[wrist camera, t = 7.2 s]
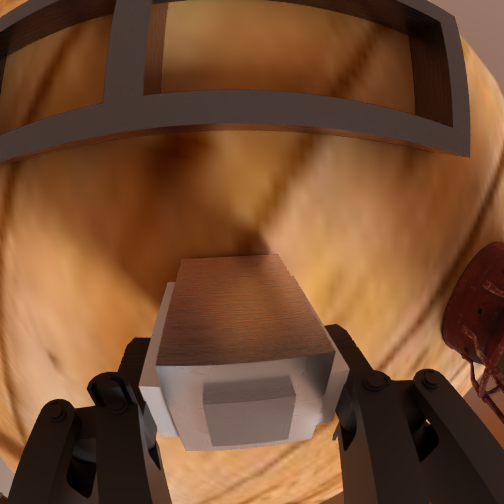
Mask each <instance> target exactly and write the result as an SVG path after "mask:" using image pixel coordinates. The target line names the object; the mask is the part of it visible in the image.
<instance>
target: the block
mask: <svg viewBox="0 0 504 504" xmlns="http://www.w3.org/2000/svg"><path fill="white" fill-rule="evenodd" d="M335 353H336V351H335V349H334V348H333V346H332V344H331V342H330V341H329V339H328V337H327V335H326V334H325V332H324V330H323V329H322V327H321V325H320V323H319V322H318V320H317V318H316V317H315V315H314V313H313V312H312V310H311V308H310V306H309V305H308V303H307V301H306V300H305V298H304V296H303V295H302V293H301V291H300V290H299V288H298V286H297V285H296V283H295V281H294V280H293V278H292V276H291V275H290V273H289V271H288V270H287V268H286V266H285V265H284V263H283V261H282V260H281V258H280V256H279V255H278V254H274V255H254V256H234V257H213V258H191V259H182V260H181V263H180V267H179V270H178V274H177V278H176V281H175V285H174V289H173V292H172V296H171V300H170V304H169V308H168V312H167V316H166V320H165V324H164V328H163V333H162V337H161V341H160V346H159V350H158V355H157V359H156V364H155V367H156V371H157V374H158V377H159V380H160V383H161V387H162V390H163V393H164V395H165V398H166V401H167V404H168V407H169V410H170V412H171V415H172V418H173V420H174V423H175V426H176V428H177V431H178V433H179V436H180V438H181V441H182V443H183V445H184V448H185V450H186V451H209V450H232V449H245V448H255V447H264V446H272V445H279V444H285V443H291V442H297V441H302V440H307V439H311V438H312V435H313V432H314V429H315V426H316V423H317V419H318V416H319V413H320V410H321V406H322V403H323V399H324V396H325V392H326V389H327V385H328V381H329V377H330V373H331V369H332V365H333V361H334V357H335Z"/></svg>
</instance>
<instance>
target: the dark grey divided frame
mask: <svg viewBox="0 0 504 504" xmlns="http://www.w3.org/2000/svg"><path fill="white" fill-rule="evenodd" d="M174 1H184V0H29V1H27V2H25V3H23V4H22V5H20V6H18V7H17V8H15V9H13V10H12V11H10V12H9V13H7V14H6V15H4V16H2V17H1V18H0V93H1V85H2V78H3V72H4V67H5V62H6V57H7V56H8V55H10V54H12V53H13V52H15V51H17V50H19V49H21V48H23V47H25V46H27V45H29V44H31V43H33V42H35V41H37V40H39V39H41V38H43V37H45V36H48V35H50V34H52V33H55V32H57V31H60V30H62V29H65V28H67V27H70V26H73V25H75V24H78V23H81V22H84V21H87V20H90V19H93V18H96V17H100V16H103V15H107V14H111V13H114V15H113V20H112V26H111V32H110V38H109V45H108V53H107V61H106V71H105V84H104V102H103V103H101V104H96V105H92V106H87V107H83V108H79V109H75V110H72V111H68V112H64V113H61V114H58V115H54V116H51V117H48V118H45V119H42V120H39V121H36V122H33V123H30V124H28V125H25V126H22V127H20V128H17V129H14V130H12V131H10V132H7V133H5V134H2V135H0V168H1V167H4V166H7V165H10V164H13V163H16V162H19V161H23V160H26V159H30V158H33V157H37V156H40V155H44V154H48V153H52V152H56V151H60V150H64V149H69V148H74V147H78V146H83V145H88V144H94V143H99V142H105V141H111V140H117V139H124V138H131V137H139V136H148V135H157V134H168V133H180V132H196V131H224V130H259V131H287V132H303V133H316V134H326V135H336V136H344V137H352V138H360V139H367V140H373V141H379V142H385V143H391V144H396V145H401V146H406V147H411V148H416V149H420V150H425V151H429V152H433V153H441V154H449V155H456V156H462V157H468V158H470V107H469V94H468V84H467V75H466V68H465V62H464V56H463V50H462V45H461V40H460V36H459V32H458V27H457V24H456V20H455V17H454V16H453V15H451V14H449V13H448V12H446V11H445V10H443V9H441V8H440V7H438V6H436V5H434V4H433V3H431V2H429V1H427V0H270V1H280V2H288V3H295V4H302V5H308V6H313V7H318V8H323V9H328V10H332V11H336V12H341V13H344V14H348V15H352V16H355V17H359V18H362V19H366V20H369V21H372V22H375V23H378V24H381V25H384V26H386V27H389V28H392V29H394V30H397V31H399V32H402V33H404V34H407V35H408V36H409V42H410V49H411V57H412V66H413V76H414V89H415V112H416V115H412V114H409V113H405V112H402V111H398V110H394V109H390V108H386V107H382V106H377V105H373V104H368V103H363V102H358V101H353V100H347V99H341V98H335V97H329V96H321V95H314V94H305V93H295V92H283V91H267V90H201V91H185V92H173V93H163V94H161V78H162V60H163V46H164V35H165V25H166V17H167V9H168V2H174Z"/></svg>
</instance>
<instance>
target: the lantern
mask: <svg viewBox="0 0 504 504" xmlns="http://www.w3.org/2000/svg"><path fill="white" fill-rule="evenodd" d="M442 334H443V337H444V341H445V344H446V345H447V346H449V347H450V348H451V349H454V350H456V351H457V352H458V353H459V354H461V356H463V357H462V358H463V359H466V360H467V361H468V362H469V363H470V366H471V382H472V385H473V387H474V388H475V390H476V392H477V394H478V396H479V398H482V400H483V401H484V402H485V403H487V404H488V405H489V406H490V407H491V409H492V410H493V411H494V412H495V414H496V415H497V416H498V418H499V419H500V420H501V421H502V422H503V424H504V415H503V414H502V412H501V411H500V410H499V408H498V407H497V406H496V404H495V403H494V402H493V401H492V399H491V398H490V397H491V396H493V395H495V394H496V393H498V392H499V391H501V390H502V392H503V393H504V244H503V243H501V242H494V243H492V244H491V245H489V246H487V247H486V248H484V249H483V250H481V251H480V252H479V253H478V254H477V255H476V256H475V258H474V259H473V260H472V261H471V262H470V264H469V265H468V267H467V268H466V270H465V271H464V273H463V274H462V276H461V278H460V280H459V282H458V284H457V286H456V288H455V290H454V292H453V294H452V295H451V298H450V300H449V303H448V306H447V308H446V311H445V317H444V322H443V329H442ZM473 362H476V363H479V364H483V365H485V367H486V368H485V370H484V375H483V377H482V379H481V382H480V385H479V384H478V383H477V381H476V380H475V374H474V366H473ZM490 375H491V377H492V378H493V379H494V380H495V383H496V384H497V387H495V388H493V389H492V390H490V391H485V388H486V384H487V382H488V379H489V377H490Z"/></svg>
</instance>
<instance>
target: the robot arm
mask: <svg viewBox="0 0 504 504" xmlns="http://www.w3.org/2000/svg"><path fill="white" fill-rule="evenodd" d="M292 278H293V280H294V281H295V283H296V285H297V286H298V288H299V290H300V291H301V293H302V295H303V296H304V298H305V300H306V301H307V303H308V305H309V306H310V308H311V310H312V312H313V313H314V315H315V317H316V318H317V320H318V322H319V323H320V325H321V327H322V329H323V330H324V332H325V334H326V335H327V337H328V339H329V341H330V342H331V344H332V346H333V348H334V349H335V351H336V353H335V357H334V361H333V365H332V369H331V373H330V377H329V381H328V385H327V389H326V392H325V396H324V399H323V403H322V406H321V410H320V413H319V416H318V419H317V423H316V424H320V423H325V422H329V421H332V420H333V417H334V414H335V412H336V414H337V416H338V418H339V423H338V425H337V427H336V430H335V432H334V434H333V439H332V440H336V438H337V435H338V442H339V451H340V460H341V469H342V479H343V491H344V504H430V503H431V504H504V449H503V448H502V447H501V446H500V444H499V443H498V441H497V440H496V439H495V438H494V436H493V435H492V434H491V432H490V431H489V430H488V429H487V427H486V426H485V425H484V423H483V422H482V421H481V420H480V419H479V417H478V416H477V415H476V413H474V411H473V410H472V409H471V407H470V406H469V405H468V404H467V403H466V401H465V400H464V399H463V398H462V397H461V395H460V394H459V393H458V392H457V391H456V390H455V388H454V387H453V386H452V385H451V384H450V383H449V381H448V380H447V379H446V378H445V377H444V376H443V375H442V374H441V373H440V372H438V371H435V370H433V369H422V370H420V371H418V372H417V373H416V375H415V376H414V378H413V380H400V381H395V380H391V379H390V377H389V376H387V375H386V374H385V373H383V372H380V371H377V370H373V369H372V367H371V366H370V364H369V363H368V361H367V360H366V358H365V357H364V355H363V354H362V353H361V351H360V350H359V348H358V347H356V344H355V342H354V341H353V340H352V338H351V337H350V335H349V334H348V332H347V331H346V330H345V329H343V328H342V327H340V326H339V325H338V324H334V325H327V326H324V325H323V323H322V322H321V320H320V319H319V317H318V315H317V314H316V312H315V310H314V309H313V307H312V305H311V304H310V302H309V300H308V299H307V297H306V296H305V294H304V292H303V291H302V289H301V287H300V286H299V284H298V283H297V281H296V279H295V278H294V276H292ZM174 285H175V282H168V284H167V287H166V290H165V293H164V296H163V299H162V303H161V306H160V309H159V312H158V316H157V319H156V323H155V326H154V329H153V333H152V336H151V338H137V337H135V338H134V339H133V340H132V341H131V342H130V343H129V344H128V345H127V347H126V349H125V352H124V356H123V358H122V361H121V364H120V366H119V369H118V372H106V373H101V374H99V375H97V376H95V377H94V378H93V379H92V380H91V381H90V382H89V384H88V387H87V391H88V392H89V394H90V396H91V398H92V400H93V401H94V403H95V406H91V407H83V408H74V407H73V406H72V404H71V403H70V402H69V401H66V400H64V399H55V400H52V401H50V402H48V403H47V404H45V405H44V407H43V408H42V410H41V412H40V414H39V416H38V418H37V420H36V423H35V425H34V427H33V429H32V432H31V434H30V436H29V439H28V441H27V444H26V446H25V449H24V451H23V454H22V456H21V459H20V462H19V464H18V467H17V470H16V473H15V476H14V479H13V482H12V486H11V489H10V492H9V496H8V498H7V497H5V496H4V495H3V493H1V492H0V504H172V501H171V498H170V494H169V490H168V486H167V482H166V478H165V473H164V469H163V464H162V460H161V455H160V450H159V446H158V443H157V441H156V432H157V430H158V432H159V434H160V436H171V437H180V436H179V433H178V431H177V428H176V426H175V423H174V420H173V418H172V415H171V412H170V410H169V407H168V404H167V401H166V398H165V395H164V393H163V390H162V387H161V383H160V380H159V377H158V374H157V371H156V367H155V364H156V359H157V355H158V350H159V346H160V341H161V337H162V333H163V328H164V324H165V320H166V316H167V312H168V308H169V304H170V300H171V296H172V292H173V289H174ZM426 419H427V420H428V421H429V422H430V424H428V423H427V422H426Z"/></svg>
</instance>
